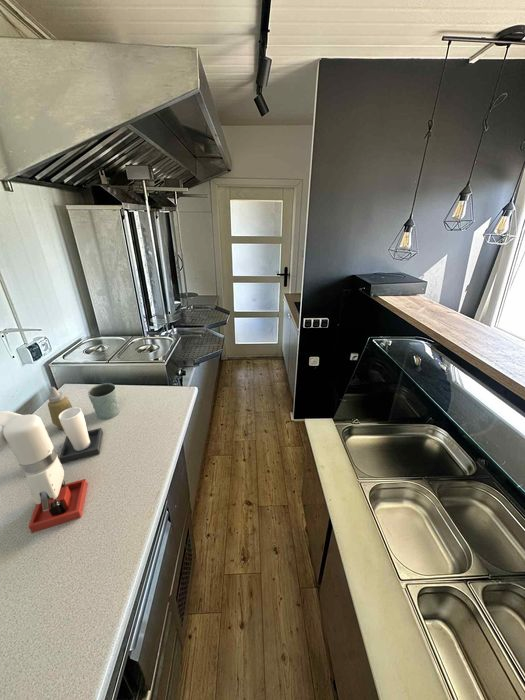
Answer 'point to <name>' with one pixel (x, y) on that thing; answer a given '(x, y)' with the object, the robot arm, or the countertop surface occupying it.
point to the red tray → (46, 520)
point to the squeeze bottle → (57, 406)
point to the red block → (64, 497)
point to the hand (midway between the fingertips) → (61, 504)
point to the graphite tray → (71, 454)
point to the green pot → (104, 400)
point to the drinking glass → (75, 428)
